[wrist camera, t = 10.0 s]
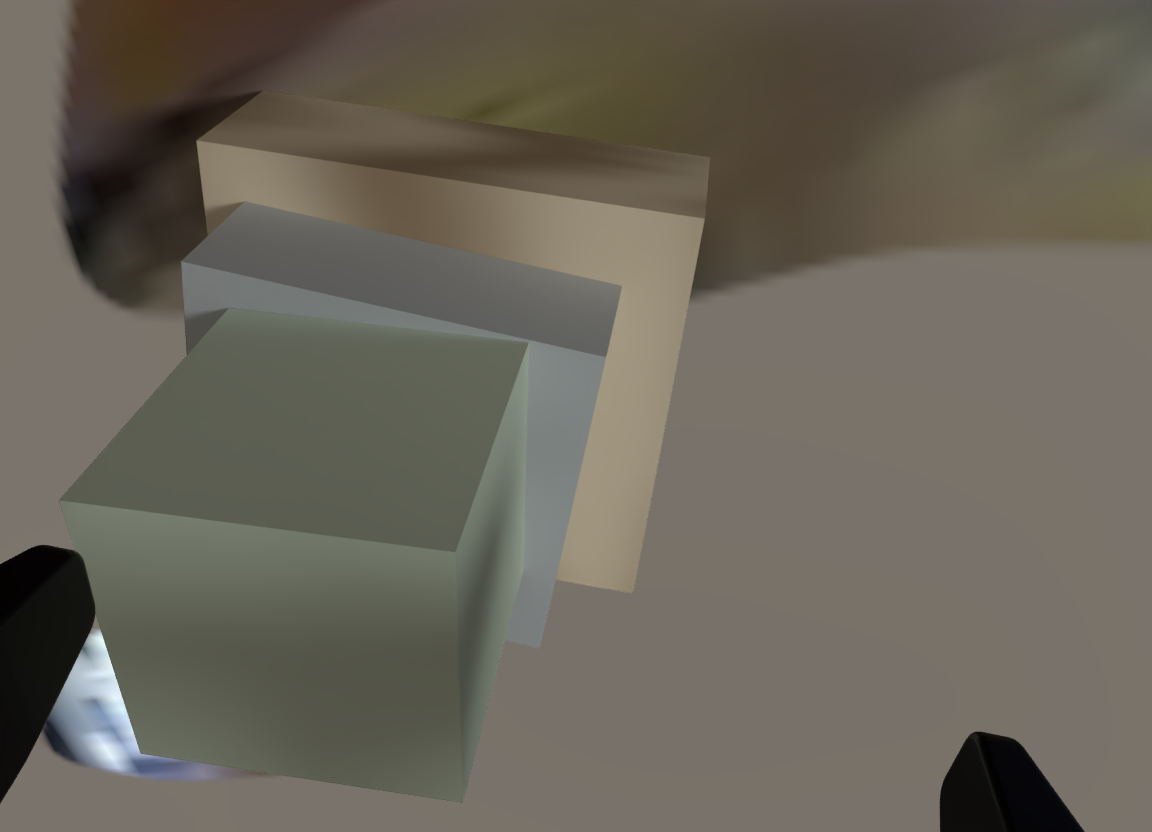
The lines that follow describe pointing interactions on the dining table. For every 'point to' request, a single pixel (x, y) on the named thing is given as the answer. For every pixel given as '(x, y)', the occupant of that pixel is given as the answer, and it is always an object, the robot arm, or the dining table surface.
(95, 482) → the sage cube
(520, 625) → the slate slab
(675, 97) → the dining table surface
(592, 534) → the oak base block
